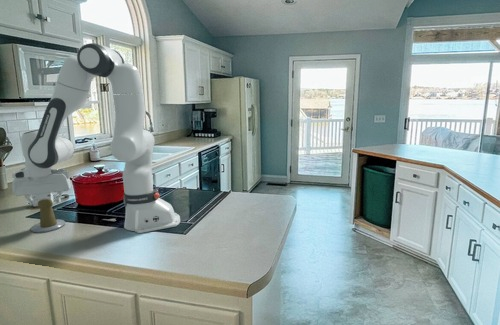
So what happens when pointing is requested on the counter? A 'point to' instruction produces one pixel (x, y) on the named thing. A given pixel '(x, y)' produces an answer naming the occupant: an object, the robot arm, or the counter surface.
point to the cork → (46, 213)
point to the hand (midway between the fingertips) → (45, 203)
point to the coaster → (38, 229)
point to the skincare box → (41, 197)
